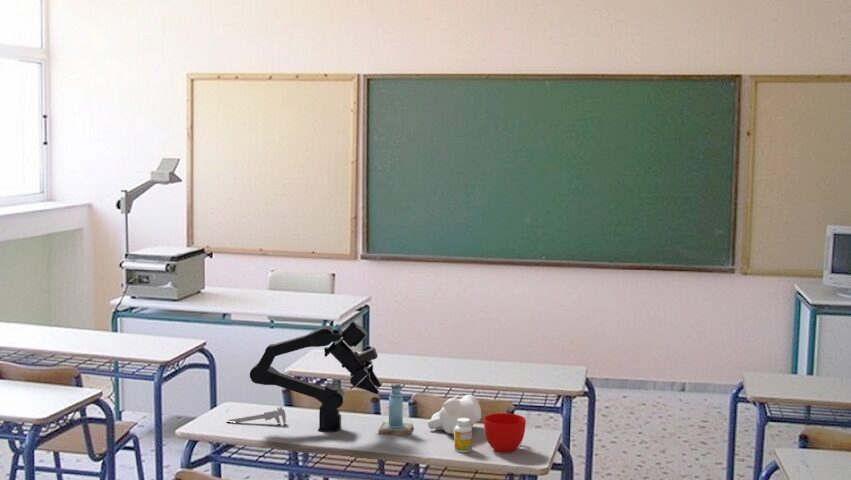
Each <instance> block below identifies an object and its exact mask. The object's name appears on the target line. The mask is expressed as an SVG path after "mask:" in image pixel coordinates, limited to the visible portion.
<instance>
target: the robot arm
mask: <svg viewBox="0 0 851 480" xmlns="http://www.w3.org/2000/svg"><path fill="white" fill-rule="evenodd" d="M368 335H369V334H368V332H367V331H366V330H365V328H364V327H362V325H359V324H358V323H356V322H355V321H354V320H351V322H350V323H349V325H348V326H347V327H345V329H343V330H340V329H339V330H338V329H333V327H331V326H329V325H323V326H321V327H319V328H317V329H315V330H313V331H311V332H309V333H307V334H305V335H302V336H298V337H294V338H291V339H288V340H284V341H281V342H277V343H270V344H269V345H267V347H266V348H265V350H264V353H263V354H262V357H261V358H260V360H259V361H258V363H256V364H255V365H254V366H253V368H251V370H250V371H249V378H250V380H251V382H252V383H254V384H257V385H263V386H277V387H280V388H282V389H287V390H289V391H291V392H295V393H298V394H301V395H303V396H306V397H310V398H314V399H315V400H317V401H319V402H320V403H321V404H320V406H319V409H318V410H319V411H318V412H319V416H318V418H319V419H318V420H319V425H318V426H319V427H318V429H317V431H320V432H338V431H339V430H340V429H341V427H342V414H341V412H340V411H341V410H340V409H339V408H340V407H342V405H343V404H344V402H345V401H344V400H345V398H346V394H345V391H344V390H343V388H341V387H340V385H335V384H332V383H330V382H328V381H327V382H326V384H325V385H319V384H315V383H312V382H309V381H306V380H303V379H301V378H296V377H294V376H291V375H288V374H284V373H281V372H280V371H278V370H277V369H276V368H274V367H273V366H272V364H273V362H274V360H275V358H276V357H277V356H281V355H284V354H288V353H292V352H295V351H299V350H303V349H307V348H318V347H319V348H320V347H324V349H323V350H324V358H326V357H327V356H329V355H332V356H333V357H334V358H335V360H337V362H339V364H341V368H343V369H346V370H347V371H348V372H349V373H350V374H349V376H351V377H350V379H349V383H350V384H351V386H353V387H354V388H355V387H356V388H359V389H362V390H364V391H367V392H370V393H372V394H375V395H378V394H379V393H380V391H379V390H378V388H381V386H382V384H381V382H380V380H379V379H378V377H377V375H376V374H375V372H374V363H373V360H376V359H377V358H378V356H379V355H378V352H377V349H376V348H375V347H374V346H371V345H366V346H365V347H364V351H362V352H360V353H359V352H358V351H353V349H351V348H352V347H353V348H354V347H358V346H359V344H361V342H362V341H363V340H365V338H367V336H368ZM327 346H328V347H327Z"/></svg>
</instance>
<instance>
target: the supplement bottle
mask: <svg viewBox="0 0 851 480" xmlns="http://www.w3.org/2000/svg"><path fill="white" fill-rule="evenodd" d="M457 424H458V425H457V426H456V427H455V440H454V446H453V447H454V451H456V453H457V452H458V453H469V452H471V451H472V448H473V446H472V445H473V429H472V427H473V426H472V427H471V426H469V425H470V419H468V418H459V419H457Z"/></svg>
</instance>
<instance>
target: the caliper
mask: <svg viewBox="0 0 851 480" xmlns="http://www.w3.org/2000/svg"><path fill="white" fill-rule="evenodd" d="M276 409H277V410H269V411H264V412H263V413H259V414H254V415H246V416H241V417H234V418H228V421H235V422H239V423H242V422H243V423H244V422H245V423H246V422H250V421H256V420H262V419H264V421H270V420H272V419H275V421H276V423H277V424H278V423H280V424H281V419H282V422H283V425H285V424H286V422H287V421H286V417H287V416H286V412H285V411H286V410H285V409H283V406H280V407H279V406H277V407H276ZM280 416H281V419H280Z"/></svg>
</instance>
